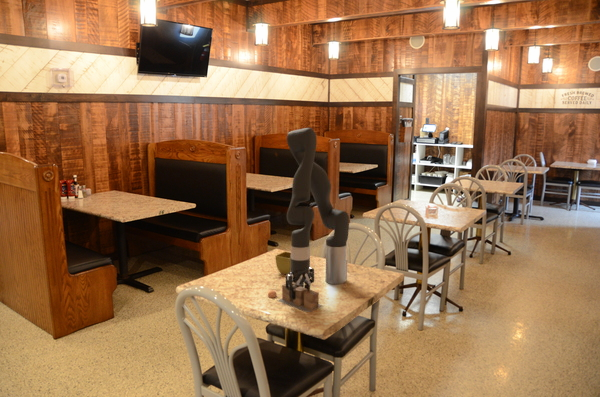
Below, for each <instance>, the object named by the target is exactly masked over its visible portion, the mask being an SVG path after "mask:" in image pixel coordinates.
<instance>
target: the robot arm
mask: <svg viewBox="0 0 600 397" xmlns="http://www.w3.org/2000/svg"><path fill="white" fill-rule="evenodd" d="M286 135H287V136H286V142H287V146H288V148H289V151H290V153H291V154H292V156H293V158H294V159H295V161H296V163H297V164H298V166H299V167H298V168H297V170H296V172H295V174H294V176H293V179H292V188H291V189H292V193H291V199H290V203H289V206H288V209H287V212H286V220H287V222H288V224H290V225H293V226H296V225H297V226H298V225H300V226H301V225H302V226H304V227H302V228H301V229H300V228H299V229H295V230H293V231H292V232H291V235H290V236H291V238H290V240H291V241H290V242H291V248H290V253H291V269H292V274H290V275H288V274H285V284H286V289H287V290H290V298H291V299H292V300H295V299H296V291H295V290H296V287H297V286H298V285H299V283H301V282H304V288H306V289H307V291H310V290H311V285H312V284H313V283H314V282H315V268H313V267H311V250H310V237H311V228H312V225H313V222H314V219H315V211H314V209H313V207H311V206H302V205H301V206H299V204H300V203H306V202H308V201H310V199H311V195H312V196H313V199H314V202H315V204H316V206H317V209H318V213H319V216H320V218H321V221H322V224H323V225H324V227H325V228H327V229H328V230H333V231H334V232H333V235H332V236H328V237H326V238H325V281H324V282H326V283H328V284H329V285H342V284H345V283H346V281H348V260H347V242H348V238H349V229H350V217H349V216H350V215H349V214H348V212H347V211H345V210H343V209H342V210H341V209H337V208H334V207H333V205H332V203H331V200H330V195H331V190H332V184H331V181H330V178H329V176H328V174H327V172H326V170H325V169H324V168H323V167H322V166H320V165H319V164H317V162H315V156H316V150H317V144H318V143H317V141H318V140H317V134H316V132H315V130H314V128H312V127H305V128H298V129H294V130H290V131H289V132H288V133H287V134H286ZM294 281H295V282H296V283H294ZM293 285H294V287H293Z"/></svg>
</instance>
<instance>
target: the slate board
mask: <svg viewBox="0 0 600 397" xmlns="http://www.w3.org/2000/svg"><path fill="white" fill-rule="evenodd" d="M277 302H279V303H282V304H285V305H287V306H290V307H292V308H295V309H298V310H301V311H303V312H306V313H310V312H313V311H315V310H317V309H320V308H322V307H324V305H323V304H320V303H319V306H318V308H316V309H313V310H310V309H307V308H304V305H302V306H299V305H296V304H294V303H293V301H290V302H288V301H286V300H283V299H282V298H281V299H278V300H277Z"/></svg>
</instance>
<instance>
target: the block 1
mask: <svg viewBox="0 0 600 397" xmlns="http://www.w3.org/2000/svg"><path fill="white" fill-rule="evenodd" d="M281 287H282V290H281V292H282V295H281V296H282V298H281V299H283V300H286V301H288V302H290V301H293V300H292V299H291V298H290V290H287V289H286V283H285V284H282V285H281ZM293 287H294V285H293Z"/></svg>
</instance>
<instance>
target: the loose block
mask: <svg viewBox="0 0 600 397" xmlns="http://www.w3.org/2000/svg"><path fill="white" fill-rule="evenodd" d="M295 291H296V299H295V300H293V303H294V304H296V305H299V306H302V305H304V293H305V292H307V289H306V288H303V287H301V286H300V287H297V288H296V290H295Z"/></svg>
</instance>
